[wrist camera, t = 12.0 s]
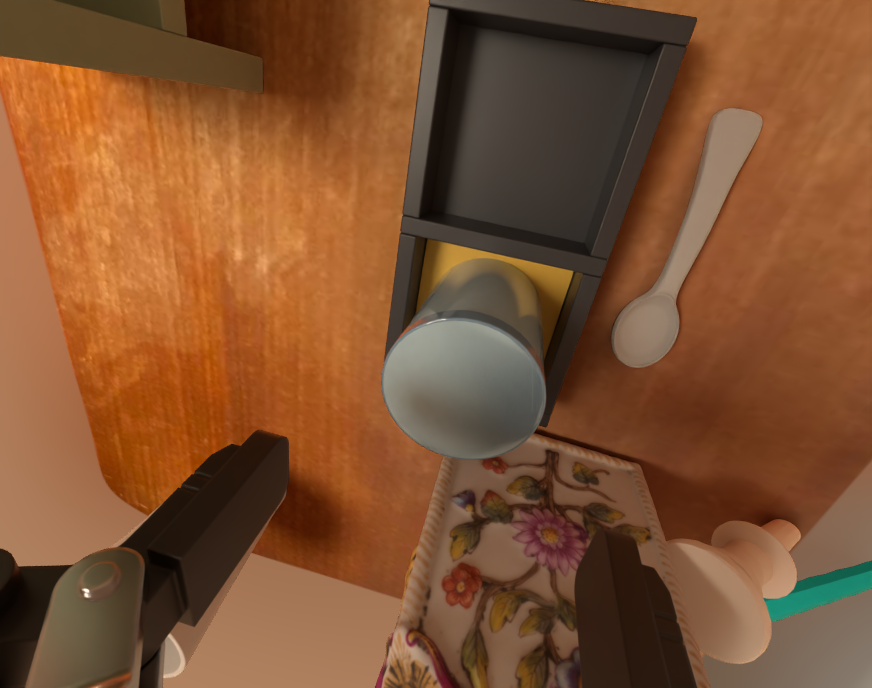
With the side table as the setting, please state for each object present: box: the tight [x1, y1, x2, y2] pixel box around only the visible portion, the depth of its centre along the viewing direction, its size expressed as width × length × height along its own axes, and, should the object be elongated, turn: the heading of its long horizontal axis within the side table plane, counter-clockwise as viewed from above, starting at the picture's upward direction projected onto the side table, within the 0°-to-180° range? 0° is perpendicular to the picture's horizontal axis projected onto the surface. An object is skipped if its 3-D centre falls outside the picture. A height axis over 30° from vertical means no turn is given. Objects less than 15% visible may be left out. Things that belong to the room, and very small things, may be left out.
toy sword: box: [763, 561, 872, 650], centre depth 26 cm, size 3×6×30 cm
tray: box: [384, 0, 697, 427], centre depth 20 cm, size 17×9×3 cm, turn 170°
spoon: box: [611, 108, 763, 368], centre depth 20 cm, size 3×12×2 cm, turn 169°
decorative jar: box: [375, 433, 710, 688], centre depth 20 cm, size 12×12×18 cm
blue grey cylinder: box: [381, 258, 546, 460], centre depth 19 cm, size 6×6×8 cm
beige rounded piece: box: [666, 519, 801, 664], centre depth 22 cm, size 5×5×10 cm
